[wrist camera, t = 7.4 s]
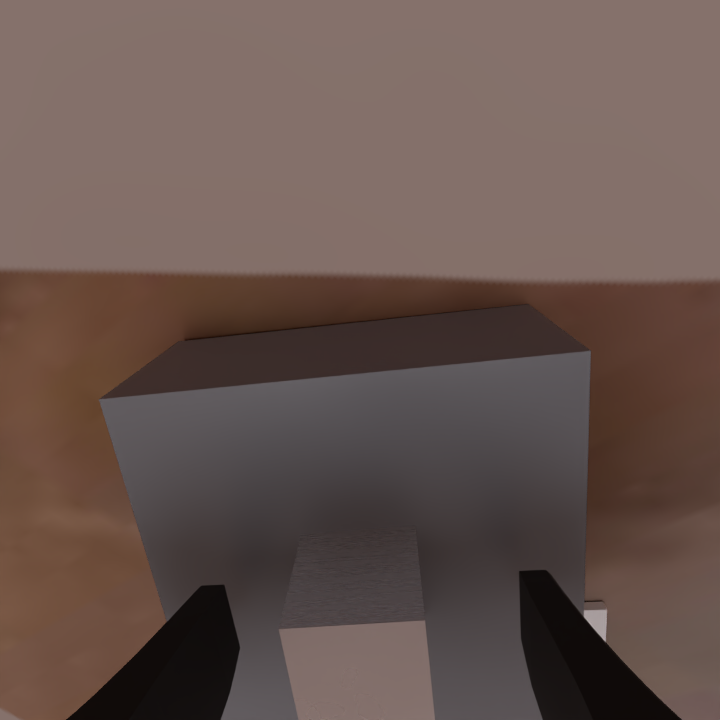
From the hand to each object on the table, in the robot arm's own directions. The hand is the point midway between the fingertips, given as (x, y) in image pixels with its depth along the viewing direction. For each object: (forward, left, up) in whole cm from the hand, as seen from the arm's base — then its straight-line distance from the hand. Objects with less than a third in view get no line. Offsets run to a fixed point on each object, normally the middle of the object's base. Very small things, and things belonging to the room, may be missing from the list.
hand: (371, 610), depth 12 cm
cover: (0, 0, -6) cm, 6 cm away
